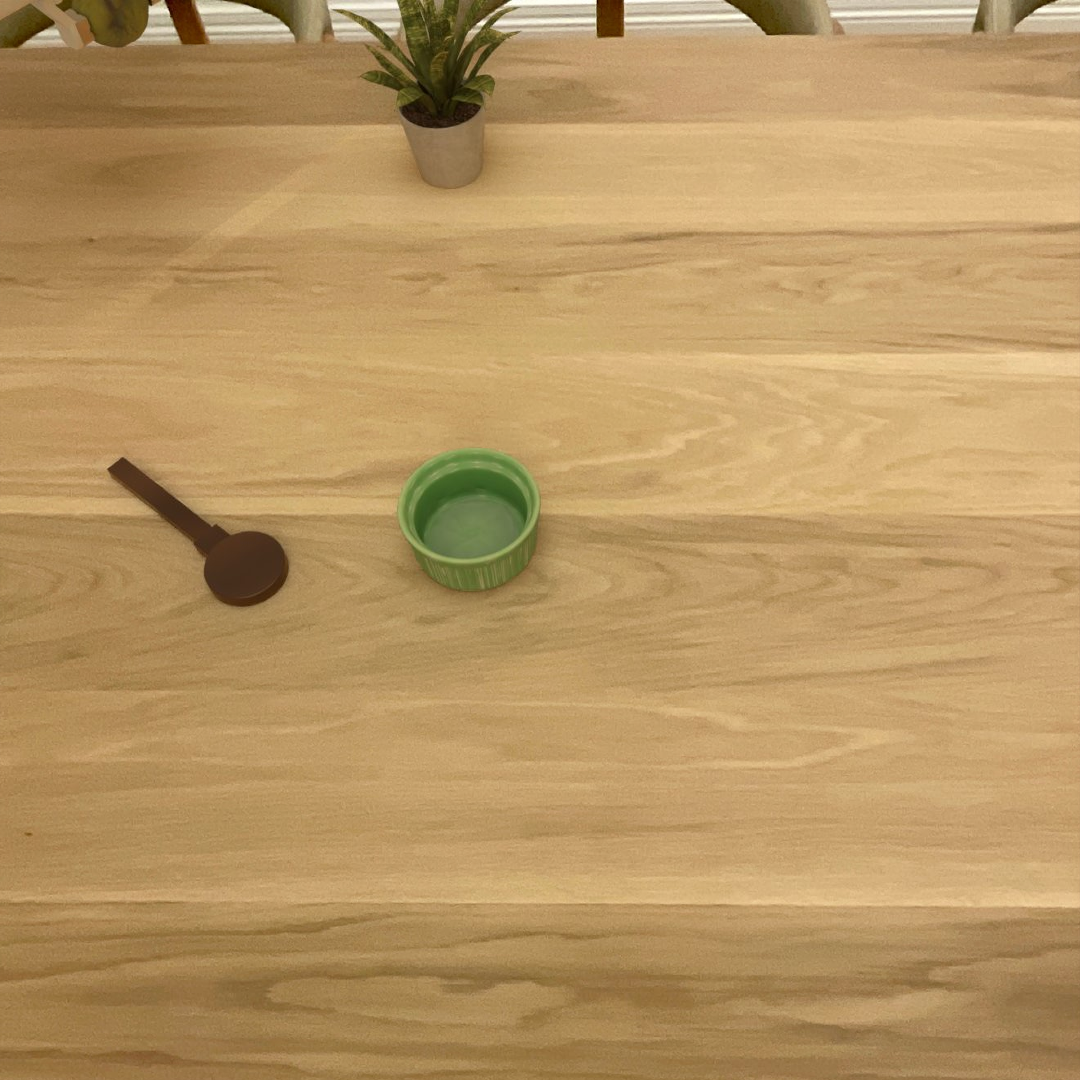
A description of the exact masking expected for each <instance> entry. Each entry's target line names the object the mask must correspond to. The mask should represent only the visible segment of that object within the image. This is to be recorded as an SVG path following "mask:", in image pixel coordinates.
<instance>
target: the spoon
mask: <svg viewBox="0 0 1080 1080" xmlns="http://www.w3.org/2000/svg"><path fill="white" fill-rule="evenodd" d="M106 471H107V472H108V474H109V475H110V477H112V478H113V479H114V480H115V481H117V482H118V483H119V484H120V485H122V486H123V487H124V488H125V489H127V490H128V491H129V492H130V493H131V494H133V495H134V496H135V497H136V498H138V499H139V500H140V501H142V502H143V503H144V504H145V505H147V506H148V507H149V508H150V509H152V511H154V512H155V513H157V514H158V515H159V516H160V517H162V518H163V519H164V520H165V521H167V522H168V523H169V524H170V525H172V526H173V527H174V528H176V529H177V531H179V532H180V533H182V534H183V535H184V536H185V537H186V538H187V539H189V540H190V541H192V542H193V543H192V544H193V546H194V548H195V549H196V551H197V552H198V553H200V554H201V555H202V556H203V557H205V558H206V559H205V561H204V564H203V577H204V581H205V583H206V585H207V586H208V588H209V590H210V592H211V593H212V595H213V596H214V597H215V598H216V599H217V600H219V601H220V602H222V603H224V604H226V605H230V606H234V607H249V606H253V605H257V604H261V603H262V602H265V601H266V600H268V599H270V598H271V597H272V596H274V595H275V594H276V593H278V591H279V590H280V589H281V588H282V586H283V585H284V583H285V581H286V579H287V576H288V572H289V560H288V558H287V555H286V552H285V551H284V548H283V546H282V545H281V543H280V542H279V541H278V540H277V538H274V537H273V536H272V535H270V534H268V533H265V532H263V531H255V530H249V531H247V530H246V531H240V532H236V533H234V534H230V533H229V532H227V531H226V530H225V529H223V528H222V526H220V525H218V524H217V523H215V524H214V525H213V526H212V525H211V524H210V523H208V522H207V521H205V520H204V518H202V517H200V516H199V515H198V514H196V512H194V511H193V510H192V509H190V508H189V507H188V506H187V505H185V504H184V503H183V502H182V501H180V500H179V499H178V498H176V497H175V496H174V495H173V494H171V492H169V491H168V490H166V489H165V488H164V487H162V486H161V485H160V484H159V483H157V482H156V481H155V480H153V479H152V478H151V477H150V476H148V475H147V474H146V473H145V472H143V471H142V470H141V469H139V468H138V467H137V466H135V465H134V464H133V463H132V462H131V461H129V460H128V459H126V458H125V457H124V456H121V457H120V458H119V459H118V460H117V461H115V462H114V463H112V464H111V465H110V466H109V467H108V468H107V469H106Z"/></svg>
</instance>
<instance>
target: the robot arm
mask: <svg viewBox="0 0 1080 1080" xmlns="http://www.w3.org/2000/svg"><path fill="white" fill-rule="evenodd" d="M161 1H162V0H148V3H149V7H153V6H154V5H157V4H158V3H159V2H161ZM62 2H63V0H0V21H1V20H3V19H4V18H6V17H8V16H10V15H11V14H14V13H15V12H17V11H18V10H20V9H23V8H24V7H26V6H28V5H31V6H33V7H35V8H36V9H37V10H38V11H40V12H41V13H43V14H44V15H45V16H47V18H49V19H50V20H52V21H53V22H54V25H55V27H56V29H57V31H58V34H59V35H60V38H61V40H62V41H63V43H64V44H65V45H66V46H68V47H69V48H71V49H73V50H75V51H79V50H81V49H83V48H84V47H86V46H88V45H90V44H91V43H93V42H95V41H94V40H95V36H94V34H93V33H92V32H91V31H90V28H91V26H90V24H89V22H88V19H87V17H85V16H83V15H81V14H77V12H76V11H74V10H72V7H71V8H70V7H69V8H68V9H67V10H65V11H64V10H62V9H61V8H59V7H58V6H57V5H60V4H61V3H62Z"/></svg>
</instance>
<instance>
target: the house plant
mask: <svg viewBox="0 0 1080 1080" xmlns="http://www.w3.org/2000/svg"><path fill="white" fill-rule="evenodd" d="M489 1H490V0H474V1H473V2H472V4H471V5H470V7H469V9H468V10H467V12H466V13H465V16H464V20H463V23H462V25H461V27H460V30H459V32H458V34H457V36H456V25H457V18H458V13H459V12H458V11H459V6H460V0H444V1H443V4H442V6H441V7H440V9H439V11H438V12H437V7H436V4H435V3H436V2H435V0H422V1H421V0H396V2H397V6H398V9H399V12H400V16H401V20H402V21H401V22H402V24H403V28H404V33H405V34H404V35H405V41H406V45H407V48H408V52H409V56H410V57H411V59H412V61H411V60H410V59H409V58H408V56H407V55H405V54H404V52H403V51H402V49H401V48H400V47H399V46H398V45H397V43H396V42H395V41H394V40H393V39H392V38H391V37H390V36H389V35H388V34H387V33H386V32H385V31H384V30H383V29H381V28H380V26H378V25H376V24H375V22H373V21H371V20H370V19H368V18H366V17H364V16H361V15H358V14H356V13H354V12H351V11H349V10H347V9H342V8H331V11H334V12H335V13H338V14H341V15H343V16H345V17H347V18H349V19H350V20H352V21H354V22H356V23H357V24H359V25H360V26H361V27H362V28H363V29H365V30H366V31H368V32H369V33H370V34H371V35H373V36H374V37H375V38H376V39H377V40H378V41H379V42H380V43H381V44H382V45H376V48H378V49H380V50H382V51H384V52H388V53H390V54H391V55H392V56H393V57H394V58H396V59H397V60H398V61H399V63H401V64H402V65H403V66H404V67H405V69H406V70H407V71H408V72H409V73H410V74H411V75H412V76H413V77H414V78H415V79H416V80H415V81H414V80H413V79H412V78H410V77H409V76H408V75H407V74H406V73H405V72H404V71H403V70H402V69H400V68H399V67H398V66H397V65H395V64H394V63H393V62H392V61H391V60H390V59H388V57H386V56H385V55H384V54H382V53H381V52H380V51H379V50H378V49H376V48H375V47H373V46H371V45H368V44H367V43H363V45H364V46H365V48H366V50H368V51H369V52H370V53H371V54H372V55H373V57H374V58H375V60H376V61H377V63H378V64H379V66H381V68H382V69H384V70H385V71H384V70H379V69H377V70H376V69H375V70H374V69H373V70H370V71H366V72H364V73H362V74H360V75H359V76H357V79H360V78H361V79H363V80H365V81H367V82H370V83H373V84H377V85H380V86H383V87H386V88H388V89H391V90H394V91H396V92H397V96H396V102H395V107H394V109H393V110H394V111H393V112H396V113H397V115H398V118H399V120H400V123H401V125H402V129H403V131H404V133H405V136H406V139H407V140H408V144H409V147H410V149H411V153H412V154H413V157H414V160H415V162H416V165H417V168H418V170H419V172H420V175H421V178H422V179H423V180H424V181H425V183H427V184H429V185H430V186H432V187H436V188H441V189H458V188H462V187H465V186H468V185H470V184H471V183H473V182H474V181H476V179H478V178H479V176H480V175H481V173H482V170H483V161H484V148H485V147H484V145H485V127H486V112H487V95H488V96H489V97H490V99H491V100H493V94H494V90H495V86H496V81H495V79H494V77H493V76H492V75H491V74H487V73H484V74H479V75H478V72H479V71H480V69H481V68H482V66H483V65H484V64H485V63H486V61H487V60H488V59H489V57H490V56H491V55H492V53H494V52H495V51H496V50H497V48H499V47H500V46H501V45H502V44H503V43H506V40H508V39H509V40H511V38H510V37H514V36H516V35H518V34H520V33H521V32H522V30H516V31H509V32H507V33H503V32H501V31H499V30H497V29H493V28H492V27H493V25H495V24H496V23H497V22H498V21H499V20H500V19H501V18H502V17H503V16H504V15H506V14H508V13H511V12H513V11H516V10H518V9H520V8H521V6H513V7H507V8H504V9H501V10H499V11H497V12H495V13H493V15H492V16H490V18H488V19H487V21H486V22H485V23H484V24H483V25H482V27H481V28H480V30H479V31H477V33H475V34H474V36H473V37H472V39H471V40H470V41H469V42H468V43H467V45H465V47H464V48H463V46H464V43H465V41H466V38H467V35H468V33H469V31H470V29H471V27H472V25H473V23H474V21H475V20H476V18H477V16H478V14H480V12H481V10H482V9H483V8H484V6H485V5H486V4H487V3H488V2H489ZM422 2H423V3H422ZM455 36H456V37H455ZM455 38H456V39H455ZM485 46H487V47H485ZM483 47H485V49H484V50H483V51H482V52H481V54H480V55H479V57H478V59H477V61H476V62H475V64H474V66H473V67H472V69H471V71H470V72H469V74H468V76H467V77H465V74H466V72H467V70H468V68H469V66H470V63H471V62H472V59H473V57H474V55H475V54H476V53H477V52H478V51H479V50H480V49H481V48H483ZM462 48H463V49H462Z"/></svg>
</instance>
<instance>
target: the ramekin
mask: <svg viewBox="0 0 1080 1080" xmlns="http://www.w3.org/2000/svg"><path fill="white" fill-rule="evenodd" d="M541 500H542V499H541V492H540V489H539V485H538V483H537V480H536V479H535V477H534V475H533V474H532V473H531V471H530V470H529V469H528V467H527V466H525V465H524V464H523V463H522V462H521V461H519V459H517V458H515V457H513V456H511V455H510V454H508V453H506V452H503V451H500V450H496V449H493V448H485V447H479V446H478V447H477V446H476V447H473V446H472V447H462V448H460V447H459V448H456V449H455V448H454V449H451V450H447V451H445V452H441V453H439V454H437V455H434V456H433V457H431V458H429V459H428V460H426V461H425V462H423V463H422V464H421V465H419V466H418V468H416V469H415V470H414V471H413V472H412V473H411V475H409V477H408V478H407V480H406V481H405V483H404V485H403V486H402V488H401V491H400V493H399V496H398V500H397V506H396V514H397V515H396V516H397V523H398V525H399V528H400V531H401V533H402V535H403V536H404V538H405V540H406V541H407V543H408V544H409V545H410V547H411V549H412V551H413V554H414V556H415V559H416V561H417V563H418V564H419V566H420V567H421V569H422V570H423V571H424V572H425V574H426V575H427V576H429V577H430V578H431V579H432V580H433V581H435V582H436V583H438V584H440V585H442V586H445V587H447V588H449V589H453V590H455V591H463V592H480V591H481V592H482V591H486V590H490V589H493V588H497V587H499V586H501V585H504V584H505V583H507V582H509V581H511V580H512V579H514V578H515V577H516V576H518V575H519V574H520V573H521V572H523V570H524V569H525V568H526V567H527V566H528V564H529V563H530V561H531V559H532V557H533V556H534V553H535V549H536V546H537V541H538V522H539V518H540V514H541V505H542V504H541V503H542V501H541Z"/></svg>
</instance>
